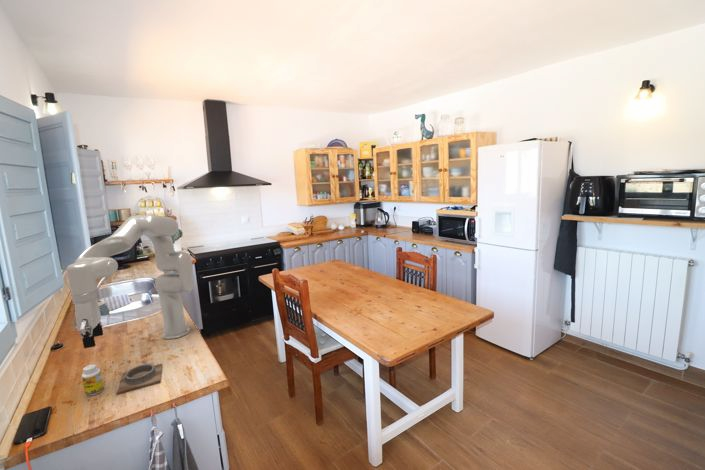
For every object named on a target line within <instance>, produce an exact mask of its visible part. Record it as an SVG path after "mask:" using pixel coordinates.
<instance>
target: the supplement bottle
mask: <svg viewBox="0 0 705 470" xmlns="http://www.w3.org/2000/svg"><path fill="white" fill-rule="evenodd" d="M82 371H83V372H82V374H81V380H82V384H83V390H84V394H85V396H88V397H90V396H96V395H98V394H99V393H101V392H102V391H103V390H104V381H103V378H102V373H101V369H100V368H98V366H97V364H94V363H93V364H89V365H86V366H85V367H83V370H82Z"/></svg>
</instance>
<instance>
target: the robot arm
mask: <svg viewBox="0 0 705 470" xmlns="http://www.w3.org/2000/svg"><path fill="white" fill-rule="evenodd" d="M178 231H179V224H178V222H177V220H176V219H174V218H172V217H170V216H164V215H163V216H162V215H157V214H139V215H138V214H137V215H131V216H129V217H128V218H126V220H125V221H123V223H122V224H121V225H120V226H119V227H118V228H117V229H115V231H114V232H113V233H112V234H111V235H110V236H108V237H105V238H104V239H102V240H100V241H98V242H96V243H95V244H93V245H91V246H89V247H88V248H86V249H85V250H84V251H83V252H81V254H80V255H79V256H78V257H77V258H76V260H75V261H74V262H73V263H71V264H69V265H67V267H66V273H67V274H66V275H67V280H68V284H69V288H70V289H69V290H70V295H71V299H72V301H71V302H72V304H73V305H74V314H75V315H74V316H75V317H74V318H75V323H76V330H77V331H78V332H80V336H81V340H82V345H83V348H84V349H89V348H93V347H94V348H95V347H96V341H95V338H96V337H102V336H103V335H104V331H103V324H102V321H101V320H102V315H101V309H100V305H99V301H98V300H99V299H100V293H99V289H98V283H97V280H98V279H102V278H103V279H104V278H108V277H111V276H113V275H114V274H115V273H116V272H117V271H118V268H119V264H118V262H117V260H115V259H114V258H113V257H112V256H115V255H119V254H122V253H124V252H127V251H129V250H131V249H132V248H133V247H134V245H135V244H136V243H137V241H138V240H140V238H141V237H142V236H143V235H144V236H146V238H148V239H149V240H150V242H151V244H152V246H153V251H154V260H155V265H156V268H157V270H159V271H160V272H174V273H162V274H160V275H158V276H157V277H156V279H155V280H154V287H155V290H156V292H157V294H158V297H159V301H160V307H161V314H162V321H163V325H164V326H163V327H164V331H163V333H162V334H161V337H162V338H163V339H165V340H175V339H178V338H182V337H184V336H186V335H188V334H189V332H190V331H191V328H190V327H189V326H188V325H187V324H186V317H185V310H184V305H183V303H184V302H183V298H182V296H181V294H180V293H188V292H191V291H192V290H193V288H194V285H195V281H194V280H195V278H194V271H193V269H194V268H193V263H192V262H193V261H192V258H191V256H190V254H189V252H186V251H176V250H175V246H174V240H173V239H172V238H171V237H172V236H174V235H175V234H177V233H178Z"/></svg>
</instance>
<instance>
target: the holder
mask: <svg viewBox="0 0 705 470" xmlns="http://www.w3.org/2000/svg"><path fill="white" fill-rule="evenodd" d="M162 373H163V363H158V364H152V363H144V364H141V365H138V366H137V365H136V366H134V367H132V368H131V369H129V370H127V372H124V373H122V375H121V378H120V381H119V384H118V388H117V391H116V394H117V396H118V395H122V394H126V393H130V392H133V391H137V390H140V389H144V388H148V387H151V386H154V385H158V384H161V383H162Z"/></svg>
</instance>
